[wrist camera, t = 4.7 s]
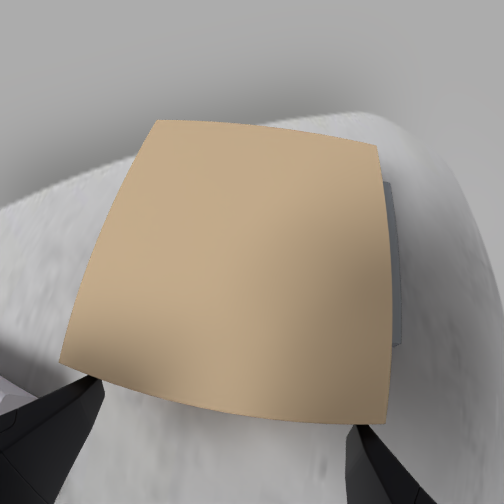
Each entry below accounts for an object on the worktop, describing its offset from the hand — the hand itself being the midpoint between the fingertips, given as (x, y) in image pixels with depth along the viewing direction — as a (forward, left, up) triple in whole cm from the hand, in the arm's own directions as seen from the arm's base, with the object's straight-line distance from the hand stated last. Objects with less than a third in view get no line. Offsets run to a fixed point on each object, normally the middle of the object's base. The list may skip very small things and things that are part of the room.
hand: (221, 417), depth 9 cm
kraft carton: (+4, -5, -7) cm, 9 cm away
